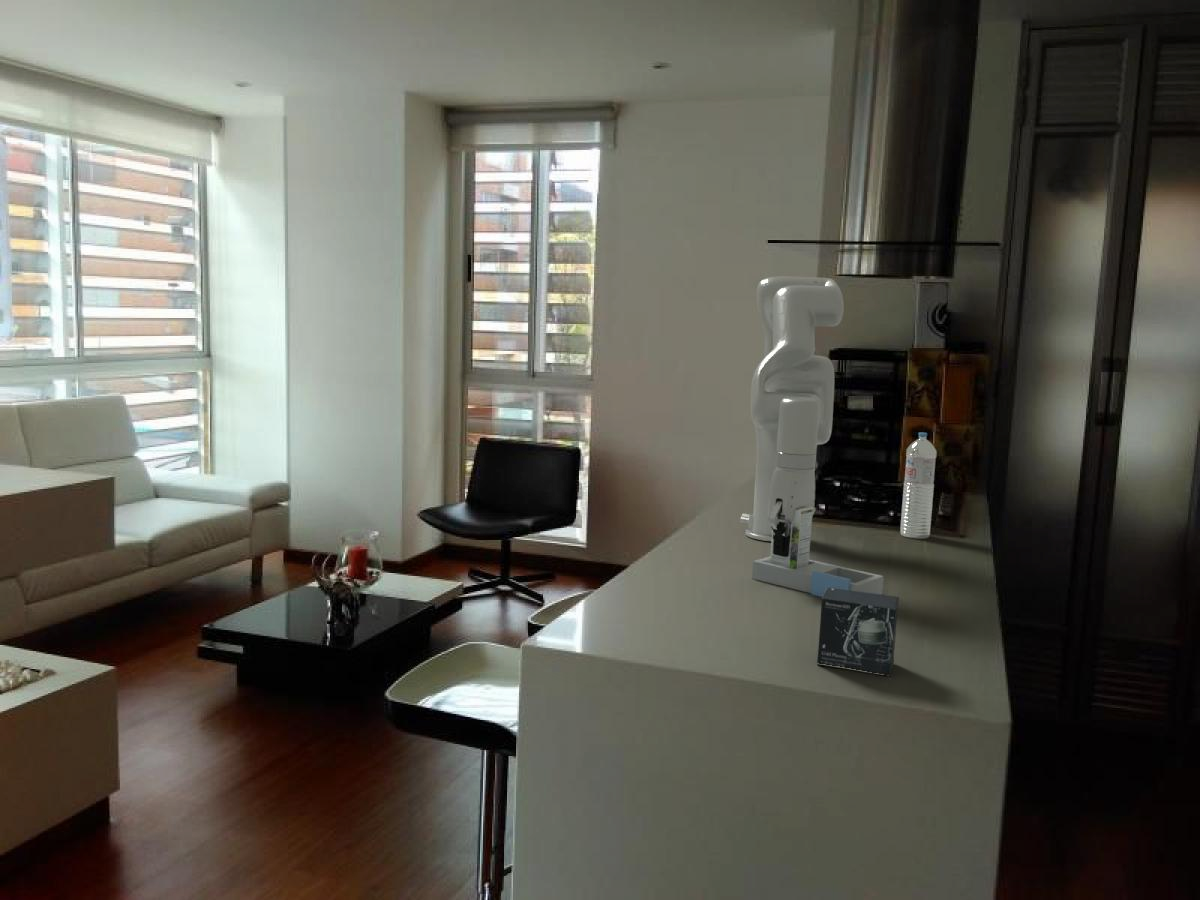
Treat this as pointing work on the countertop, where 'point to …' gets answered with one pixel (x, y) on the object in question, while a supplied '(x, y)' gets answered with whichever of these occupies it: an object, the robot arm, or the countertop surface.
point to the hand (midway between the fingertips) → (789, 551)
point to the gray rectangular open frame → (817, 577)
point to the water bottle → (918, 489)
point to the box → (858, 630)
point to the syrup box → (796, 540)
